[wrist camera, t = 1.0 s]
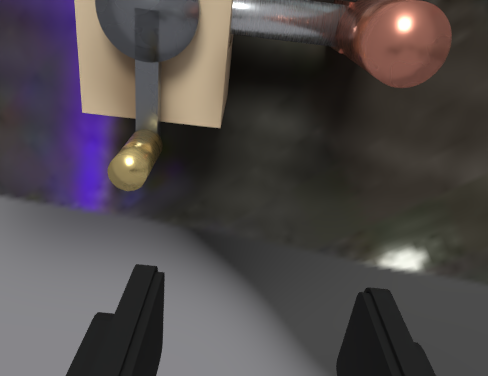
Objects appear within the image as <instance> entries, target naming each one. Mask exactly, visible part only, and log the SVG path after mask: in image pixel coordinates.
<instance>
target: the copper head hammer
mask: <svg viewBox="0 0 488 376" xmlns="http://www.w3.org/2000/svg"><path fill="white" fill-rule="evenodd" d="M230 34H233V35H242V36H250V37H258V38H266V39H274V40H283V41H291V42H299V43H307V44H315V45H324V46H330V47H332V48H333V49H334V50H336V51H337V52H338V53H343V54H344V55H345V56H346V57H348V58H349V59H351V60H352V61H353V62H355V63H356V64H357V65H359V66H360V67H362V68H363V69H364V70H366V71H367V72H369V73H370V74H371V75H373V76H374V77H376V78H377V79H378V80H380V81H381V82H383V83H384V84H386V85H389V86H392V87H397V88H407V87H412V86H415V85H418V84H420V83H422V82H424V81H426V80H427V79H429V78H430V77H431V76H433V75H434V74H435V73H436V72H437V71H438V70H439V68H440V67H441V66H442V64H443V63H444V61H445V59H446V57H447V55H448V53H449V49H450V46H451V28H450V24H449V21H448V19H447V17H446V16H445V14H444V13H443V12H442V11H441V10H440V9H439V8H438V7H437V6H435V5H433V4H431V3H428V2H424V1H416V0H358V1H357V2H347V1H339V0H334V4H332V3H324V2H316V1H308V0H233V8H232V19H231V30H230Z"/></svg>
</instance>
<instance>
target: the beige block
mask: <svg viewBox="0 0 488 376" xmlns="http://www.w3.org/2000/svg"><path fill="white" fill-rule="evenodd" d="M74 1H75V15H76V29H77V43H78V57H79V71H80V85H81V99H82V113H91V114H99V115H108V116H117V117H126V118H135V119H136V104H135V59H133V58H131V57H129V56H127V55H125V54H124V53H122V52H121V51H120V50H118V49H117V48H116V47H115V46H114V45H113V44H112V43H111V42H110V40H109V39H108V38H107V36H106V35H105V33H104V32H103V30H102V28H101V26H100V23H99V20H98V17H97V13H96V7H95V0H74ZM200 6H201V16H200V23H199V27H198V30H197V32H196V35H195V36H194V38H193V40H192V41H191V43H190V44H189V45H188V46H187V47H186V48H185V49H184V50H183V51H182V52H181V53H179V54H178V55H177V56H175V57H173V58H171V59H169V60H166V61H162V68H161V120H160V121H161V122H170V123H179V124H188V125H197V126H206V127H214V128H220V127H221V123H222V118H223V114H224V109H225V104H226V100H227V95H228V84H229V74H230V63H231V53H232V42H233V34H230V30H231V19H232V8H233V0H200Z"/></svg>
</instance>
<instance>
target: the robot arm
mask: <svg viewBox="0 0 488 376" xmlns="http://www.w3.org/2000/svg"><path fill="white" fill-rule="evenodd" d="M163 308H164V273H163V272H158V268H157V266H149V265H139V264H136V265H135V267H134V269H133V272H132V274H131V276H130V279H129V281H128V283H127V286H126V288H125V291H124V293H123V296H122V298H121V300H120V302H119V305H118V307H117V310H116V312H115V314H112V313H101V312H98V313H97V314H96V315H95V316H94V318H93V320H92V322H91V324H90V326H89V328H88V330H87V332H86V334H85V337H84V338H83V341H82V343H81V345H80V347H79V349H78V351H77V353H76V355H75V357H74V360H73V361H72V364H71V366H70V368H69V370H68V372H67V374H66V376H156V374H157V370H158V366H159V362H160V358H161V352H162V343H163V311H164V309H163ZM336 367H337V368H336V369H337V376H436V375H435V373H434V371H433V369H432V367H431V365H430V362H429V360H428V359H427V356H426V354H425V352H424V350H423V349H422V347H421V346H420V345H419V344H418V343H415V342H413V340H412V337H411V335H410V333H409V331H408V329H407V327H406V325H405V322H404V321H403V318H402V316H401V313H400V311H399V310H398V307H397V305H396V303H395V300H394V298H393V296H392V294H391V292H390V291H389V290H388V289H378V288H366V289H365V291H364V292H359V293H358V295H357V298H356V301H355V304H354V307H353V311H352V314H351V317H350V320H349V323H348V327H347V330H346V333H345V336H344V339H343V343H342V346H341V349H340V352H339V355H338V359H337V365H336Z"/></svg>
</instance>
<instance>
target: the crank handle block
mask: <svg viewBox="0 0 488 376" xmlns="http://www.w3.org/2000/svg"><path fill="white" fill-rule="evenodd" d="M95 7H96V13H97V17H98V20H99V23H100V26H101V28H102V30H103V32H104V33H105V35H106V36H107V38H108V39H109V40H110V42H111V43H112V44H113V45H114V46H115V47H116V48H117V49H118V50H120V51H121V52H122V53H124V54H125V55H127V56H129V57H131V58H133V59H135V104H136V132H135V133H134V134H133V135H132V137H131V138H130V139H129V140H128V142H127V143H126V144H125V145H124V146H123V148H122V149H121V150H120V151H119V153H118V154H117V155H116V156H115V158H114V159H113V160H112V161H111V163H110V164H109V167H108V176H109V179H110V180H111V182H112V183H113V184H114V185H115V186H116V187H118V188H120V189H122V190H125V191H133V190H137V189H139V188H140V187H141V186H142V185H143V184H144V182H145V180H146V179H147V177H148V175H149V173H150V171H151V169H152V168H153V166H154V164H155V162H156V160H157V158H158V157H159V155H160V153H161V151H162V147H163V145H162V140H161V138H160V120H161V68H162V61H166V60H169V59H171V58H173V57H175V56H177V55H178V54H179V53H181V52H182V51H183V50H184V49H185V48H186V47H187V46H188V45H189V44H190V43H191V41H192V40H193V38H194V36H195V35H196V32H197V30H198V27H199V23H200V16H201V6H200V0H95Z"/></svg>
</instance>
